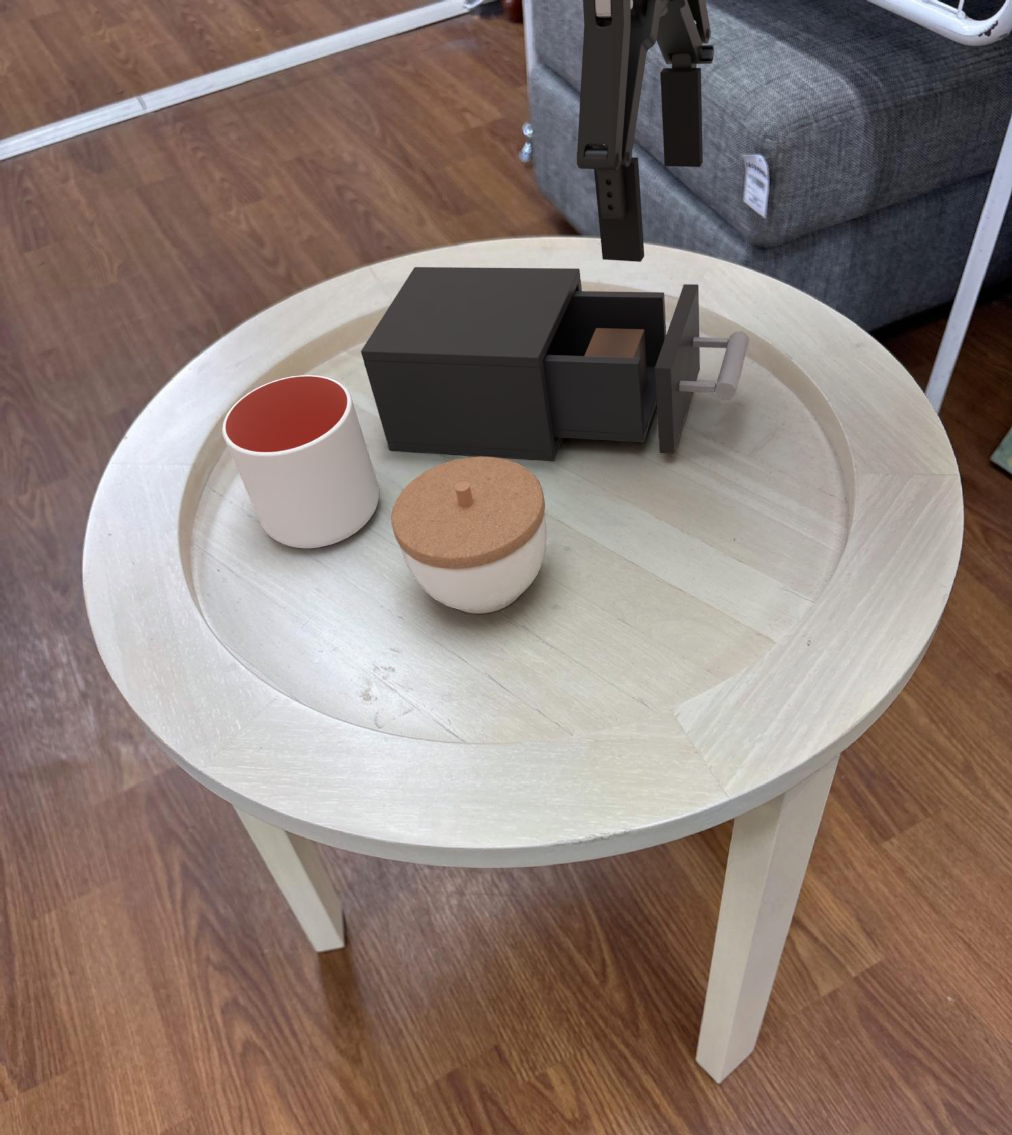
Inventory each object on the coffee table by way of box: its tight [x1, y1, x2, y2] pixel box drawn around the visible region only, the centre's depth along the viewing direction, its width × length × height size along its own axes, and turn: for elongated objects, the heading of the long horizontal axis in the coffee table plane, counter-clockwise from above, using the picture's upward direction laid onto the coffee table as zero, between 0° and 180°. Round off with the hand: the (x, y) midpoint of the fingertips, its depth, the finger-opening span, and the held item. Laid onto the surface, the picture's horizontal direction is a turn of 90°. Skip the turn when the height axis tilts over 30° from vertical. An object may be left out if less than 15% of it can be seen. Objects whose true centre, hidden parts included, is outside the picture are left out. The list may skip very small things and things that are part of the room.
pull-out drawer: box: [543, 283, 750, 455], centre depth 86 cm, size 18×12×8 cm, turn 73°
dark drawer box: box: [360, 266, 583, 462], centre depth 90 cm, size 15×13×10 cm
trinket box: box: [390, 456, 548, 615], centre depth 76 cm, size 11×11×9 cm
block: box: [584, 328, 647, 394], centre depth 87 cm, size 4×4×5 cm
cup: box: [221, 374, 380, 549], centre depth 84 cm, size 10×10×10 cm
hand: (655, 209), depth 75 cm, fingers open, 13 cm apart
